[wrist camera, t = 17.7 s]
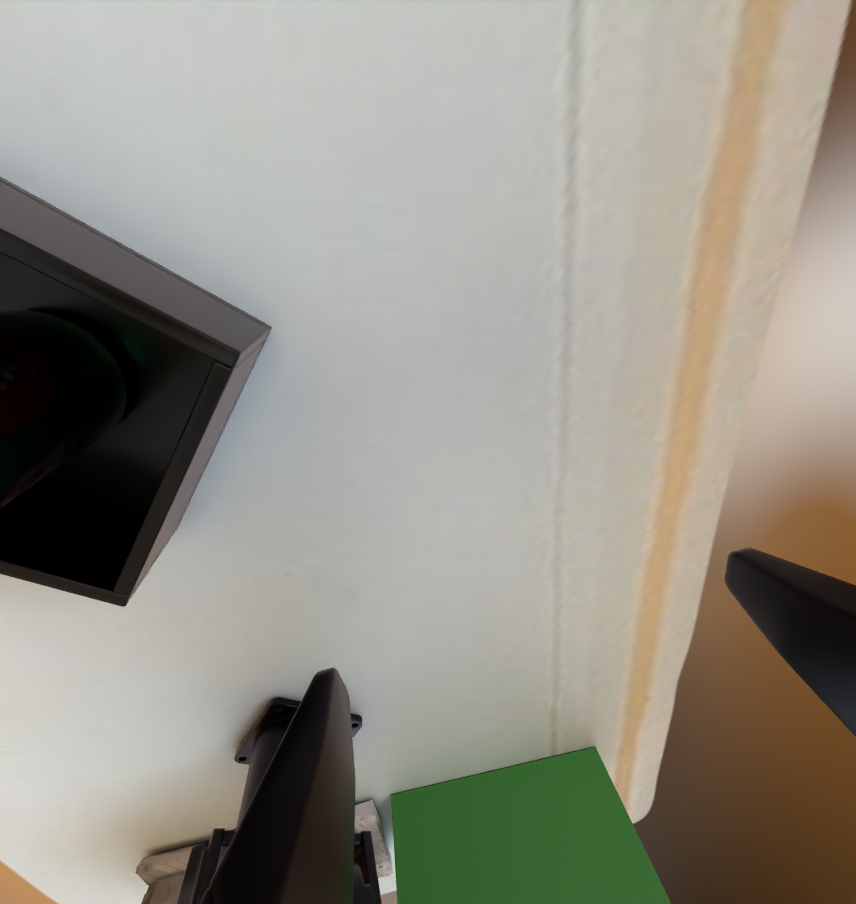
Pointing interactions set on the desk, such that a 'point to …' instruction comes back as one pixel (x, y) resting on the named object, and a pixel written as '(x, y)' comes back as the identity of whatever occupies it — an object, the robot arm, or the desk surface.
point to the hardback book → (522, 839)
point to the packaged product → (170, 866)
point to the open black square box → (147, 404)
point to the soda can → (51, 396)
